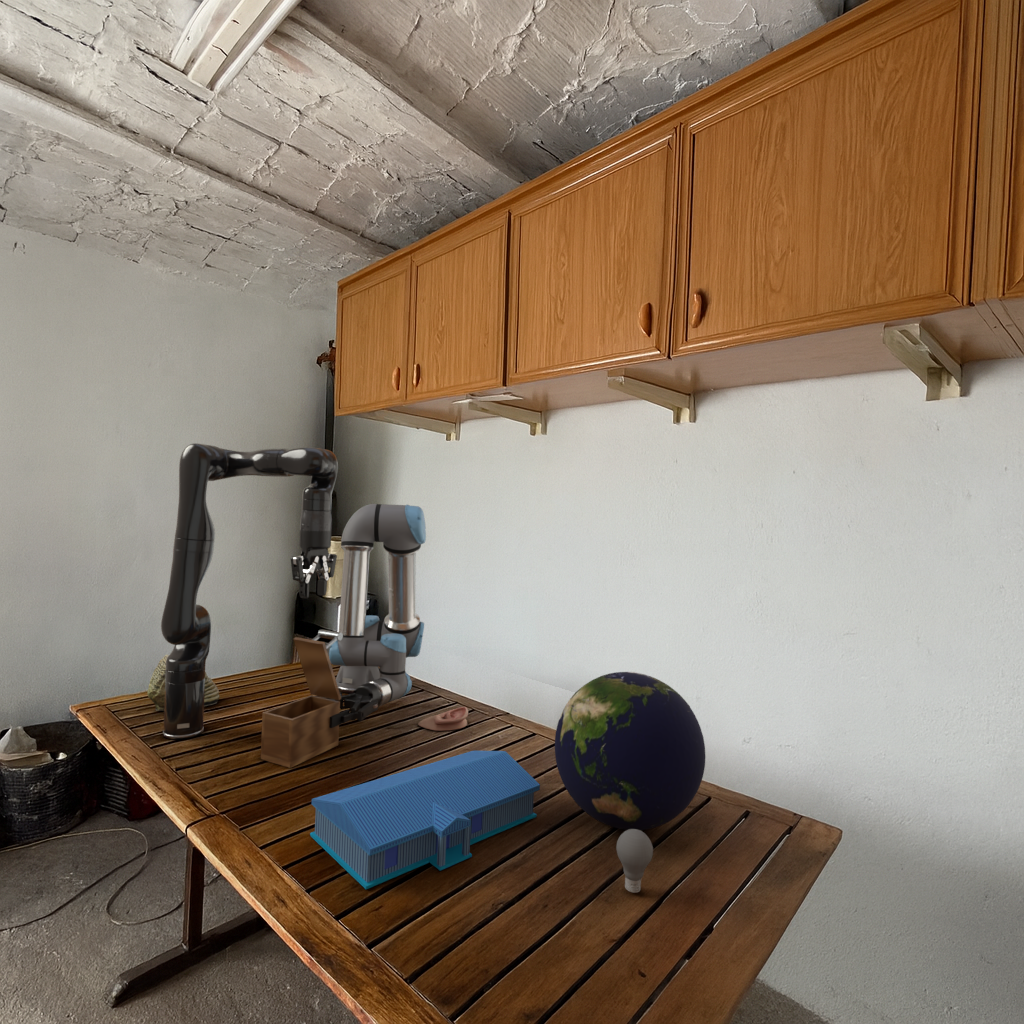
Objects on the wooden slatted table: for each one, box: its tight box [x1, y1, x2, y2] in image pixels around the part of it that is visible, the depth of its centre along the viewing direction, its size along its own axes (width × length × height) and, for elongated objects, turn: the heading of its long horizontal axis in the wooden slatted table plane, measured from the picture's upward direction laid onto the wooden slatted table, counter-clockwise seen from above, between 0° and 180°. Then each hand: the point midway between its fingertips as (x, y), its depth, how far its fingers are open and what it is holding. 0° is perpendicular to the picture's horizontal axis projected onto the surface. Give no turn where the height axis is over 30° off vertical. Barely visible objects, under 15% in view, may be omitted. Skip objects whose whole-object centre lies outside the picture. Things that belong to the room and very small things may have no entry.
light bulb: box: [615, 829, 654, 894], centre depth 106 cm, size 6×6×10 cm
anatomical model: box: [417, 706, 469, 732], centre depth 179 cm, size 13×4×12 cm
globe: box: [554, 671, 706, 831], centre depth 128 cm, size 30×30×30 cm
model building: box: [309, 750, 541, 890], centre depth 123 cm, size 39×24×10 cm, turn 132°
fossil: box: [147, 654, 221, 712], centre depth 185 cm, size 9×18×15 cm, turn 132°
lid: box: [292, 628, 343, 700], centre depth 163 cm, size 17×10×8 cm
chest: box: [260, 694, 341, 769], centre depth 156 cm, size 16×10×11 cm, turn 154°
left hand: (313, 596), depth 158 cm, fingers open, 5 cm apart
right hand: (315, 718), depth 160 cm, fingers closed on chest, 10 cm apart
